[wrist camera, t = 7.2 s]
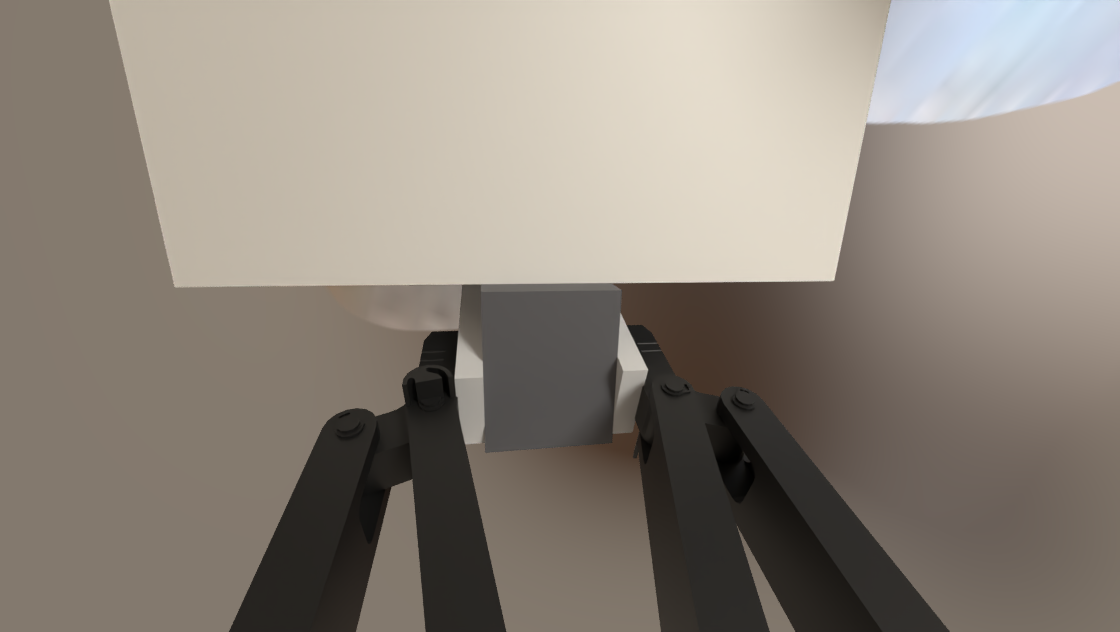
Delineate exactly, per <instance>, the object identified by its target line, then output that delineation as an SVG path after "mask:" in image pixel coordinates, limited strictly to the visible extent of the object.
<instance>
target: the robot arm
mask: <svg viewBox="0 0 1120 632" xmlns="http://www.w3.org/2000/svg"><path fill="white" fill-rule="evenodd" d="M402 387H403V392H404V398H405V403H406V404H405V405H404V406H402V407H400V408H399V409H397V410H394V411H392V412H389V413H386V414H382V415H379V416H376V417H375V416H374V414H373V413H372V412H370V411H368V410H366V409H358V408H356V409H350V410H345V411H343V412H341V413H338V414H336V415H335V416H333V417H332V418H331V419H329V420H328V421H327V422H326V424H325V425H324V427H323V428H322V430H321V432H320V435H319V437H318V439H317V441H316V443H315V445H314V448H313V450H312V452H311V454H310V456H309V458H308V461H307V463H306V465H305V467H304V469H303V472H302V474H301V476H300V478H299V480H298V483H297V485H296V487H295V489H294V491H293V493H292V496H291V498H290V500H289V502H288V504H287V506H286V509H285V511H284V513H283V515H282V517H281V520H280V522H279V524H278V526H277V528H276V531H275V533H274V535H273V537H272V539H271V541H270V544H269V546H268V548H267V550H266V552H265V554H264V557H263V559H262V561H261V563H260V565H259V567H258V570H257V572H256V574H255V576H254V578H253V581H252V583H251V585H250V587H249V589H248V591H247V594H246V596H245V598H244V600H243V602H242V605H241V607H240V609H239V611H238V613H237V615H236V618H235V620H234V622H233V625H232V626H231V629H230V631H229V632H356V629H357V625H358V621H359V617H360V612H361V608H362V605H363V601H364V597H365V592H366V588H367V583H368V580H369V576H370V572H371V568H372V564H373V560H374V556H375V551H376V547H377V544H378V539H379V535H380V531H381V527H382V523H383V519H384V515H385V511H386V507H387V503H388V498H389V495H390V490H391V487H392V486H395V485H398V484H400V483H403V482H406V481H408V480H411V479H413V489H414V490H413V491H414V502H415V514H416V525H417V537H418V548H419V559H420V571H421V583H422V593H423V606H424V617H425V629H426V632H506V629H505V624H504V620H503V615H502V610H501V606H500V602H499V597H498V592H497V587H496V583H495V579H494V574H493V570H492V565H491V560H490V556H489V551H488V547H487V542H486V537H485V533H484V529H483V524H482V519H481V515H480V510H479V505H478V501H477V496H476V492H475V488H474V483H473V478H472V474H471V469H470V464H469V460H468V456H467V451H466V447H465V444H475V443H485V422H484V387H483V352H482V317H481V284H463V285H462V297H461V308H460V320H459V331H440V332H431V334H430V335H429V336H428V337H427V338H426V339H425V340H424V344H423V349H422V354H421V359H420V364H419V367H418V368H415V369H414V370H412V371H410V372H409V373H408V374H407V375H406V376H405V378H404V379H403V384H402ZM635 421H636V423H637V426H638V428H639V431H640V432H639V435H638V439H637V442H636V446H635V450H634V455H633V458H637V455H638V453H639V461H640V469H641V476H642V485H643V492H644V500H645V507H646V516H647V524H648V532H649V540H650V547H651V555H652V563H653V571H654V579H655V587H656V595H657V603H658V611H659V618H660V626H661V632H770V631H769V628H768V625H767V622H766V618H765V615H764V612H763V609H762V606H761V602H760V599H759V596H758V593H757V590H756V586H755V583H754V580H753V577H752V573H751V570H750V567H749V564H748V561H747V557H746V554H745V551H744V548H743V545H742V541H741V538H740V535H739V532H738V528H739V530H740V532H741V533H742V535H743V537H744V539H745V541H746V542H747V544H748V546H749V548H750V550H751V552H752V553H753V555H754V557H755V559H756V561H757V562H758V564H759V566H760V568H761V570H762V572H763V573H764V575H765V577H766V579H767V580H768V582H769V584H770V586H771V588H772V590H773V592H774V593H775V595H776V597H777V599H778V601H779V602H780V604H781V606H782V608H783V610H784V612H785V613H786V615H787V617H788V619H789V620H790V622H791V624H792V626H793V628H794V630H795V632H949V630H948V629H947V628H946V626H945V625H944V624H943V623H942V622H941V620H940V619H939V618H938V617H937V615H936V614H935V613H934V612H933V610H932V609H931V608H930V607H929V605H928V604H927V603H926V602H925V601H924V599H923V598H922V597H921V595H920V594H919V593H918V592H917V591H916V589H915V588H914V587H913V586H912V584H911V583H910V582H909V581H908V579H907V578H906V577H905V576H904V574H903V573H902V572H901V571H900V569H899V568H898V567H897V566H896V565H895V563H894V562H893V561H892V560H891V558H890V557H889V556H888V555H887V553H886V552H885V551H884V550H883V548H882V547H881V546H880V545H879V543H878V542H877V541H876V540H875V539H874V537H873V536H872V535H871V534H870V532H869V531H868V530H867V529H866V527H865V526H864V525H863V524H862V522H861V521H860V520H859V519H858V517H857V516H856V515H855V514H854V512H853V511H852V510H851V509H850V508H849V506H848V505H847V504H846V503H845V501H844V500H843V499H842V498H841V496H840V495H839V494H838V493H837V491H836V490H835V489H834V488H833V486H832V485H831V484H830V483H829V482H828V480H827V479H826V478H825V477H824V475H823V474H822V473H821V472H820V470H819V469H818V468H817V467H816V465H815V464H814V463H813V462H812V460H811V459H810V458H809V457H808V456H807V454H806V453H805V452H804V451H803V449H802V448H801V447H800V446H799V444H798V443H797V442H796V441H795V439H794V438H793V437H792V436H791V434H790V433H789V432H788V431H787V430H786V429H785V427H784V426H783V425H782V423H781V422H780V421H779V420H778V419H777V417H776V416H775V415H774V414H773V412H772V411H771V410H770V408H769V407H768V406H767V405H766V404H765V402H764V401H763V400H762V399H761V398H760V397H759V396H758V395H757V394H755V393H754V392H752V391H750V390H748V389H745V388H742V387H728V388H725V389H724V390H723V391H722V393H721V395H720V397H718V396H714V395H709V394H703V393H699V392H696V391H694V389H693V387H692V385H691V384H690V383H688V382H687V381H686V380H684V379H682V378H680V377H678V376H676V375H675V374H674V372H673V371H672V368H671V367H670V365H669V363H668V361H667V360H666V358H665V356H664V354H663V352H662V351H661V349H660V347H659V345H658V344H657V342H656V340H655V338H654V336H653V334H652V333H651V332H650V331H649V330H647V329H646V328H645V327H644V326H642V325H632V326H631V325H627V326H626V324H625V321H624V319H623V317H622V315H621V313H620V327H619V342H618V357H617V372H616V388H615V403H614V420H613V434H614V433H629V432H632V431H633V427H634V424H635ZM736 524H737V525H736ZM737 526H738V528H737Z"/></svg>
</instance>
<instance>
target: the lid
mask: <svg viewBox="0 0 1120 632" xmlns="http://www.w3.org/2000/svg"><path fill="white" fill-rule="evenodd" d="M109 3H110V8H111V12H112V17H113V21H114V25H115V30H116V34H117V39H118V43H119V47H120V51H121V56H122V60H123V65H124V69H125V73H126V77H127V82H128V86H129V91H130V95H131V99H132V104H133V108H134V112H135V116H136V121H137V126H138V130H139V134H140V139H141V143H142V147H143V151H144V155H145V160H146V164H147V169H148V173H149V177H150V182H151V186H152V191H153V195H154V199H155V204H156V208H157V212H158V217H159V221H160V226H161V230H162V234H163V239H164V243H165V247H166V251H167V256H168V260H169V265H170V269H171V273H172V277H173V282H174V286H175V287H231V286H233V287H243V286H349V285H455V284H481V317H482V352H483V387H484V422H485V452H486V453H488V452H500V451H514V450H526V449H540V448H553V447H566V446H579V445H592V444H605V443H612V435H613V420H614V403H615V388H616V372H617V357H618V342H619V327H620V311H621V296H622V290H621V289H619V288H618V287H616V286H614V285H613V284H612V283H659V282H660V283H665V282H760V281H761V282H767V281H768V282H770V281H834V278H835V273H836V269H837V264H838V259H839V254H840V249H841V244H842V239H843V234H844V229H845V224H846V219H847V214H848V209H849V204H850V199H851V194H852V190H853V185H854V180H855V175H856V170H857V165H858V160H859V155H860V150H861V145H862V141H863V136H864V131H865V126H866V121H867V116H868V111H869V106H870V101H871V96H872V91H873V86H874V81H875V77H876V72H877V67H878V62H879V57H880V52H881V47H882V42H883V37H884V32H885V27H886V22H887V17H888V13H889V8H890V3H891V0H109Z"/></svg>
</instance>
